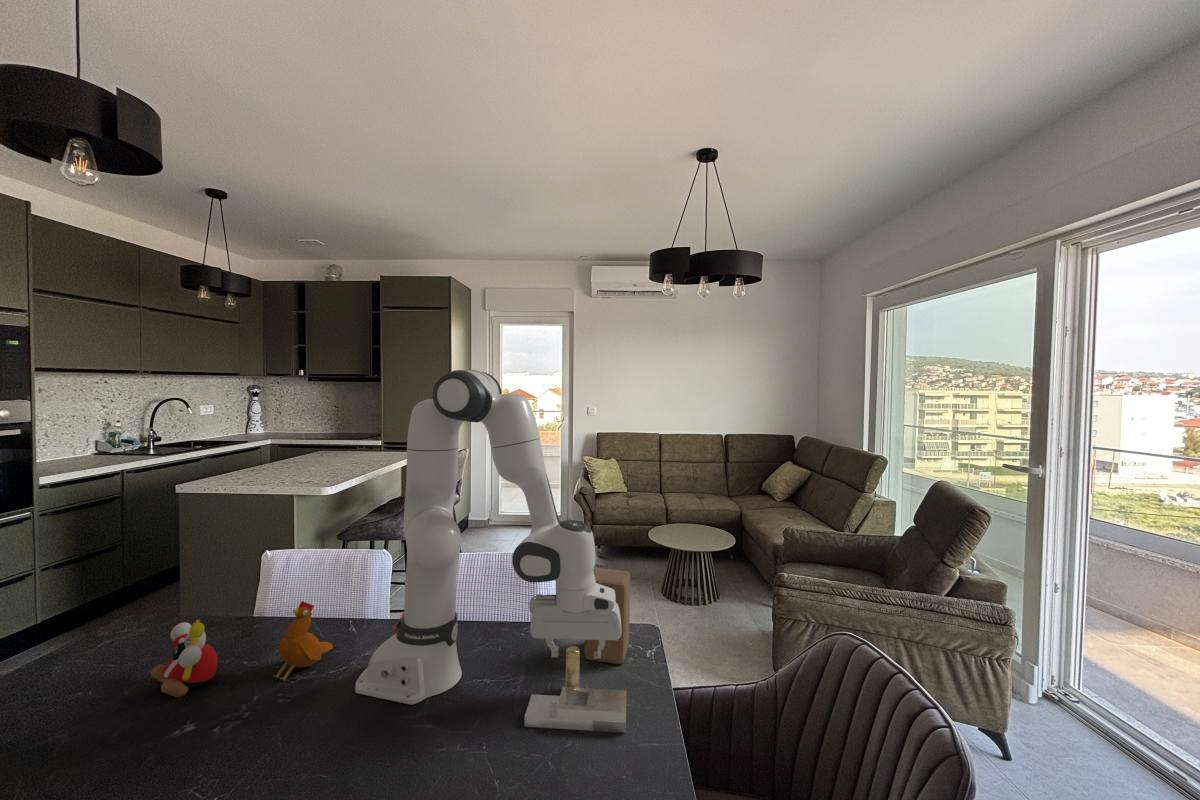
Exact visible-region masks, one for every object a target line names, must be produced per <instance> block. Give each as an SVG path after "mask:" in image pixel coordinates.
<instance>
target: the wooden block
mask: <svg viewBox="0 0 1200 800" xmlns="http://www.w3.org/2000/svg"><path fill="white" fill-rule="evenodd" d="M594 576H595V581H596V583H598V584H600V585H603V586H606V587H609V588H612V589H614V591H615V596H616V600H615V602H616V603H617V604H618V607H619V610H620V616H621V637H620V638H619V639H618V640H606V642H605V646H604V647H603V649H602V651H601V658H594V647H598V646H599V640H584V654H583V655H584V658H585V659H586V660H588V661H594V662H599V663H600V662H603V663H610V664H615V665H616V664H617V665H622V664H624V662H625V660H626V656H627V652H628V648H629V646H630V645H629V644H630V617H631V616H630V615H631V613H630V610H631V608H630V607H631V573H630V571H628V570H624V569H623V570H620V569H613V568H601V567H600V568H599V567H594Z"/></svg>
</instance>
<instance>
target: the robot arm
mask: <svg viewBox="0 0 1200 800" xmlns="http://www.w3.org/2000/svg"><path fill="white" fill-rule="evenodd" d="M409 419H410V420H409V423H408V431H407V441H406V442H407V443H406V481H405V482H406V483H405V495H404V508H403V509H404V511H403V535H404V538H405V543H406V544H405V545H406V550H407V551H406V571H405V582H404V602H403V603H404V604H403V605H404V607H403V608H404V610H403V612H402V614H401V617H399V618H398V619H397V621H396V623H395V625H393V626H392V629H393V630H392V633H395V632H396V633H395V634H393V635H392V636H390V637H389V638H388V639H387V640H385V641H384V642H382V643H381V645H380V646H378V647H377V648H376V649H375V651H374V652H373V654H371V655H372V656H371V658H370V659H369V662H368V665H367V667H366V668H365V669H364V670H363V672H362V673H361V674H360V675H359V677H358V678H357V680H356V682H355V686H354V692H355V693H356V694H358V695H365V696H369V697H373V698H378V699H383V700H388V701H392V702H397V703H403V704H405V705H415V704H418V703H420V702H422V701H423V700H425V699H427V698H431V697H432V696H436V695H439V694H442V693H444V692H447V691H448V690H450V689H452V688H453V687H455V685H457V683H458V682H459V681H460V679H462V674H463V671H462V668H461V665H460V661H459V655H458V648H457V637H458V630H459V629H458V627H459V623H458V613H457V611H456V603H457V602H456V600H457V598H456V592H457V591H456V590H457V575H458V570H459V562H460V553H461V548H462V546H461V545H462V535H461V529H460V528H459V525H458V524H457V522H456V520H455V518H454V504H455V498H456V497H455V496H456V490H457V486H458V481H459V477H458V476H459V475H458V474H459V435H460V434H459V433H460V429H461V426H462V424H463V423H464V422H469V423H482V425H484V427H485V429H486V432H487V434H488V438H489V440H488V441H489V445H490V451H491V456H492V461H493V464H494V467H495V469H496V471H497V473H498V475H499V476H500V477H501V478H502V479H504V480H505V481H507V482H509V483H512V484H514V485H516V486H518V487H519V488H520V489H521V491H522V493H524V494H523V495H524V497H525V501H526V504H527V507H528V512H529V516H530V521H531V530H530V533H529V534H528V536H527V537H525V538H524V539H523V540H522V541H521V542H520V543H519V544H517V546H516V547H515V549H514V551H513V553H512V557H511V558H512V559H511V563H512V567H513V570H514V571H515V573H516V574H517V576H518V577H519V578H520V579H522V580H524V581H525V582H528V583H533V584H535V583H547V582H553V581H555V594H541V593H540V594H536V595H535V596H532V597H531V598H530V599H529V602H528V603H529V604H528V605H529V606H528V607H529V612H530V613H531V617H530V626H529V634H530V636H531V637H532V638H533V639H541V640H542V639H543V640H544V639H545V643H546V645H547V647H548V648H549V650H550V651H551V658H559V655H560V646H559V645H556V644H555V642H554V640H582V641H585V640H599V646H598V647H594V658H601V651H602V649H603V647H604V646H605V642H606V640H618V639H619V638H620V637H621V616H620V610H619V607H618V604H617V603H616V602H615V600H616V596H615V591H614V589H612V588H609V587H606V586H603V585H600V584H598V583H596V581H595V576H594V569H595V566H596V546H595V544H596V543H595V536H594V533H593V530H592V528H591V527H590V526H589V525H588V524H586V523H585V522H582V521H580V520H574V519H565V520H560V518H559V515H558V512H557V508H556V504H555V500H554V497H553V496H554V495H553V494H552V493H553V492H552V489H551V485H550V481H549V477H548V475H547V471H546V470H547V469H546V465H545V460H544V454H543V448H542V442H541V441H542V440H541V438H540V432H539V429H538V427H539V426H538V423H537V420H536V418H535V414H534V412H533V408H532V406H531V403H530V402H529V400H528V399H527V398H526V397H525V396H524V395H523V394H518V393H513V392H512V393H510V392H509V393H502V388H501V385H500V383H499V382H498V380H497V379H495V377H494V376H492V375H491V374H489V373H487V372H484V371H479V370H475V369H464V370H462V369H457V370H451V371H449V372H447V373H445V374H442V376H441V377H439V379H437V381H436V382H435V385H434V386H433V389H432V398H428V399H424V400H422V401H420V402H418V403H417V404H415V405H414V406H413V408H412V411H411V414H410V418H409Z"/></svg>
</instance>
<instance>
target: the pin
mask: <svg viewBox="0 0 1200 800" xmlns="http://www.w3.org/2000/svg"><path fill="white" fill-rule="evenodd" d="M565 650H566V651H565V687H574V688H580V666H581V665H580V663H581V662H580V657H581V653H580V648H579V647H578V646H574V645H572V646H569V647H567V648H566V649H565Z"/></svg>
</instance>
